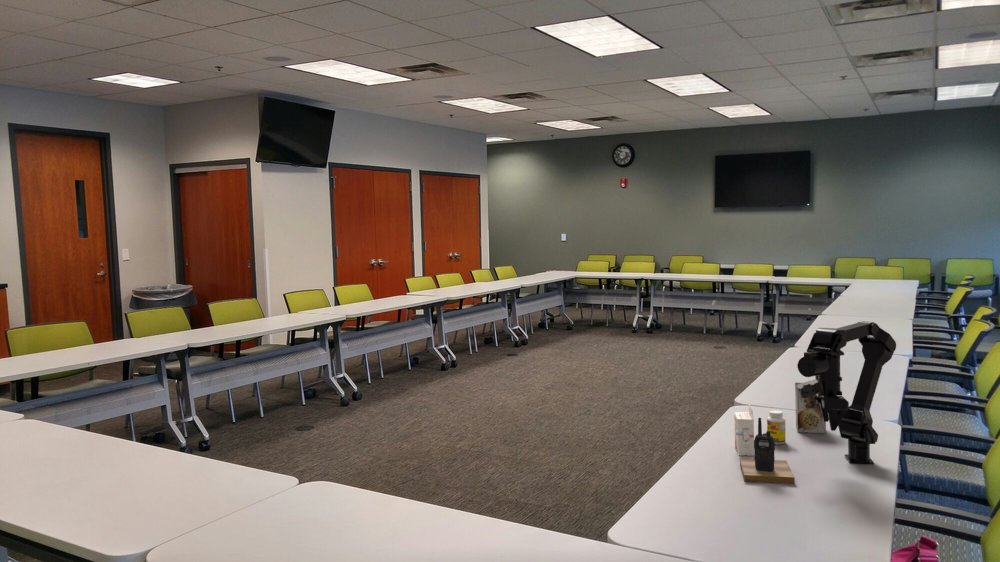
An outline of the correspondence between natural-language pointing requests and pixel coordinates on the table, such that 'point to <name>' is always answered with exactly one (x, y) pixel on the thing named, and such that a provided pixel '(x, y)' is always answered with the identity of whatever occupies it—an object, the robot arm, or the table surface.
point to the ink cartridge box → (744, 432)
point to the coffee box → (808, 414)
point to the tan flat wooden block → (767, 472)
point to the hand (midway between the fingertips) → (829, 425)
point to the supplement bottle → (776, 426)
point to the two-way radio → (764, 450)
